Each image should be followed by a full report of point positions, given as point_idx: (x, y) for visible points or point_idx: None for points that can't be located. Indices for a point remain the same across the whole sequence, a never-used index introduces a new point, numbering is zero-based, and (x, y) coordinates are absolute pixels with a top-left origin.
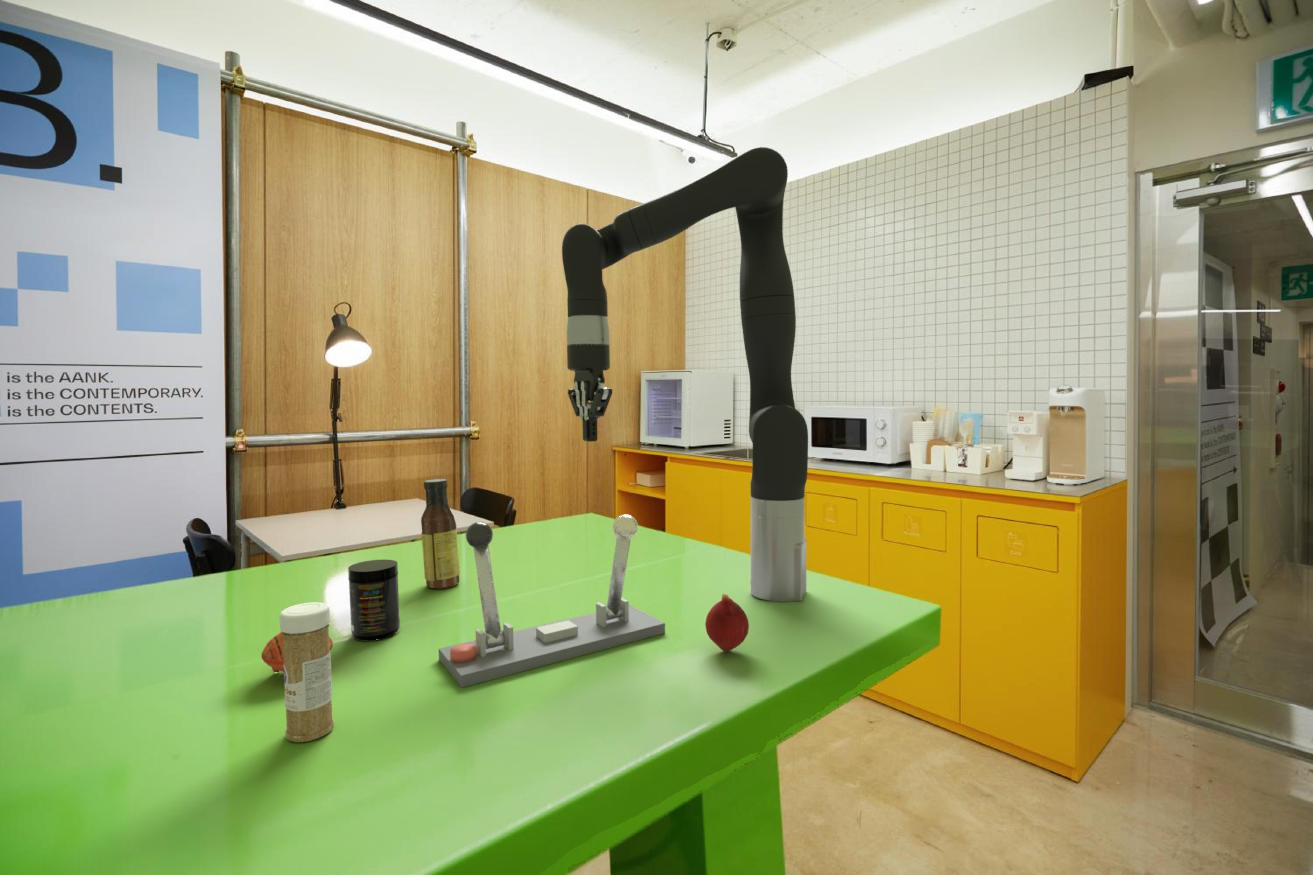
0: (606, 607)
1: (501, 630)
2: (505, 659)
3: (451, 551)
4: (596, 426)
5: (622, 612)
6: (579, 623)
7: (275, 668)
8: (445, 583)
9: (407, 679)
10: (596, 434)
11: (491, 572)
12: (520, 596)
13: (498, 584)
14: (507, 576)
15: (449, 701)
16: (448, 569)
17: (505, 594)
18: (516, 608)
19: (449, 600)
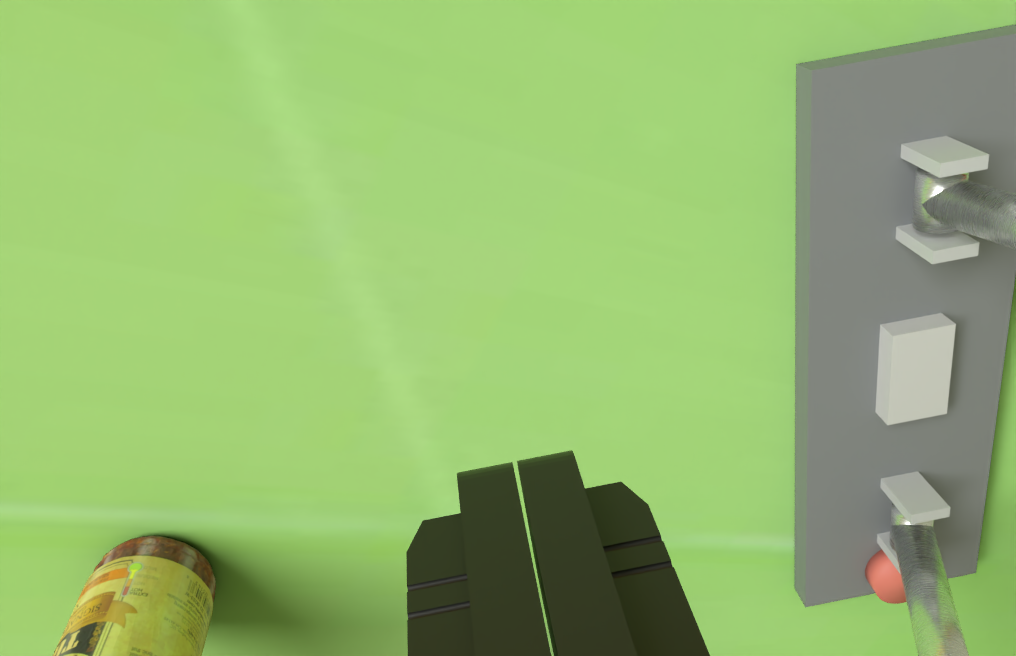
0: (955, 230)
1: (923, 523)
2: (962, 493)
3: (173, 654)
4: (685, 612)
5: None
6: (865, 286)
7: None
8: (212, 584)
9: (853, 634)
10: (655, 524)
11: (964, 651)
12: (405, 367)
13: (216, 415)
14: (105, 372)
15: (998, 573)
16: (199, 611)
17: (358, 408)
18: (529, 397)
19: (349, 561)
